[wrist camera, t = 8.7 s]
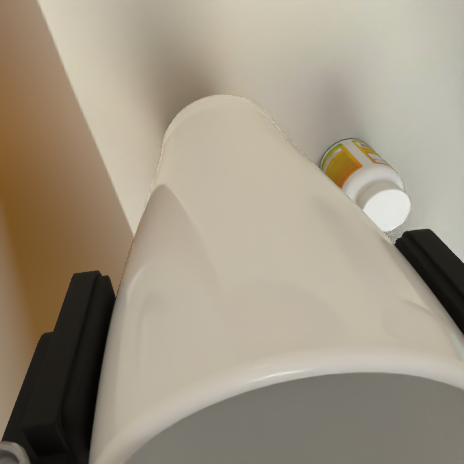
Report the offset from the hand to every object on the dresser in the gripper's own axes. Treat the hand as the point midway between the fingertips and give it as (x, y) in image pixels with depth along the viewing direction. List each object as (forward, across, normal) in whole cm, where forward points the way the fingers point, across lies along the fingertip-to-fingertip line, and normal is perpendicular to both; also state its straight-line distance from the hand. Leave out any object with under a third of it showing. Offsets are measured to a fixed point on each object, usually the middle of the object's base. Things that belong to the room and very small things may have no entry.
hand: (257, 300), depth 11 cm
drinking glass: (+10, 0, 0) cm, 10 cm away
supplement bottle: (+30, -13, +10) cm, 34 cm away
